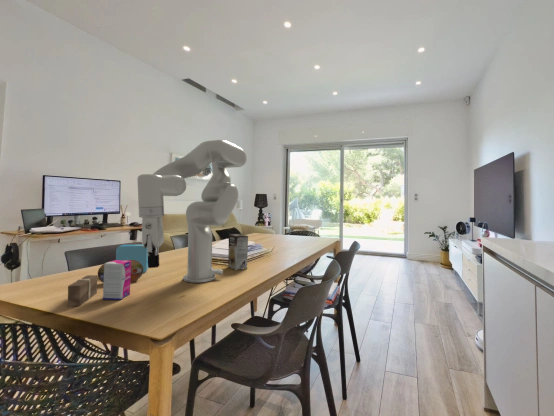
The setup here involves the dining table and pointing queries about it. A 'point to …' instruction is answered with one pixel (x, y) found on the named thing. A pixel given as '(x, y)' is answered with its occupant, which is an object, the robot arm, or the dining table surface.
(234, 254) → the coffee box
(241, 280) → the dining table surface
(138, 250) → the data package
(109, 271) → the supplement box
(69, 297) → the brown rectangular block
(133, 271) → the tin
